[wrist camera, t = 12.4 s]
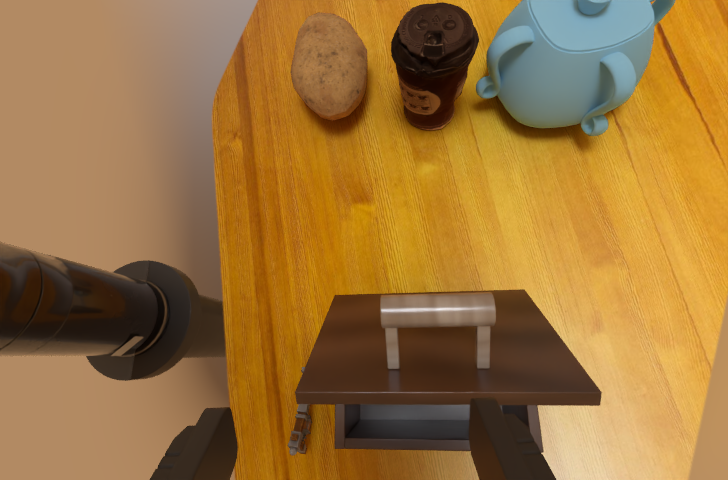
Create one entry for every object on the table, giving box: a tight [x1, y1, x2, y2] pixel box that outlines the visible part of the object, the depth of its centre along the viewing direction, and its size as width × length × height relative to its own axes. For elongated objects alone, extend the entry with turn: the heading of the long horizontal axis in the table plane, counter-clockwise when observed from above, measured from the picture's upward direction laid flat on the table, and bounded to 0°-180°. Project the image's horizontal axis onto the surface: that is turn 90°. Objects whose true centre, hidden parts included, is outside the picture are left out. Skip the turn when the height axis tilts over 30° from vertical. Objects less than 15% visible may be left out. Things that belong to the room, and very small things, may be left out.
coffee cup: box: [391, 3, 479, 130], centre depth 42 cm, size 9×8×13 cm
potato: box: [291, 13, 367, 121], centre depth 47 cm, size 10×14×8 cm
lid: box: [295, 290, 601, 406], centre depth 25 cm, size 12×16×5 cm
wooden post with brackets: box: [288, 367, 312, 455], centre depth 38 cm, size 2×8×4 cm, turn 175°
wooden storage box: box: [335, 404, 543, 453], centre depth 35 cm, size 12×16×10 cm
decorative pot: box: [476, 0, 675, 136], centre depth 41 cm, size 16×16×14 cm
